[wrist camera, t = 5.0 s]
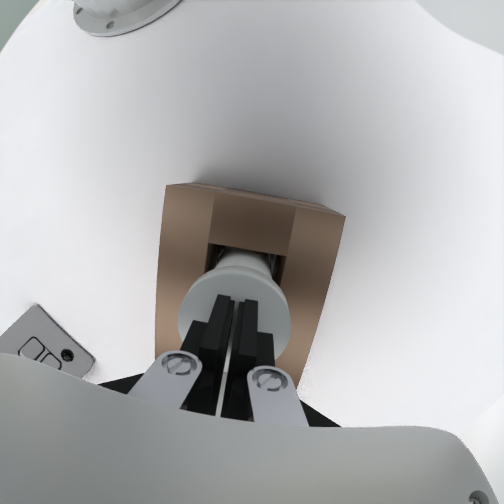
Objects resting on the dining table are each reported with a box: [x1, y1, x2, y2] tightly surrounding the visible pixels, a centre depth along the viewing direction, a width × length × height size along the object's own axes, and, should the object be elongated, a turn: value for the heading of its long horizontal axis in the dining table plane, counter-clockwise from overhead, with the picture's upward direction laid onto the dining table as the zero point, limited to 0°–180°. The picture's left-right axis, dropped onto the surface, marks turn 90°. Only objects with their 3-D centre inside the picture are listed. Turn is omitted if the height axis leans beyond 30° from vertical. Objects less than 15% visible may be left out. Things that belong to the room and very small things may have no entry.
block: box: [155, 183, 346, 389], centre depth 21 cm, size 24×10×6 cm, turn 170°
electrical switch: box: [0, 306, 93, 379], centre depth 21 cm, size 9×5×9 cm, turn 49°
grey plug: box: [177, 246, 291, 372], centre depth 17 cm, size 5×5×10 cm
